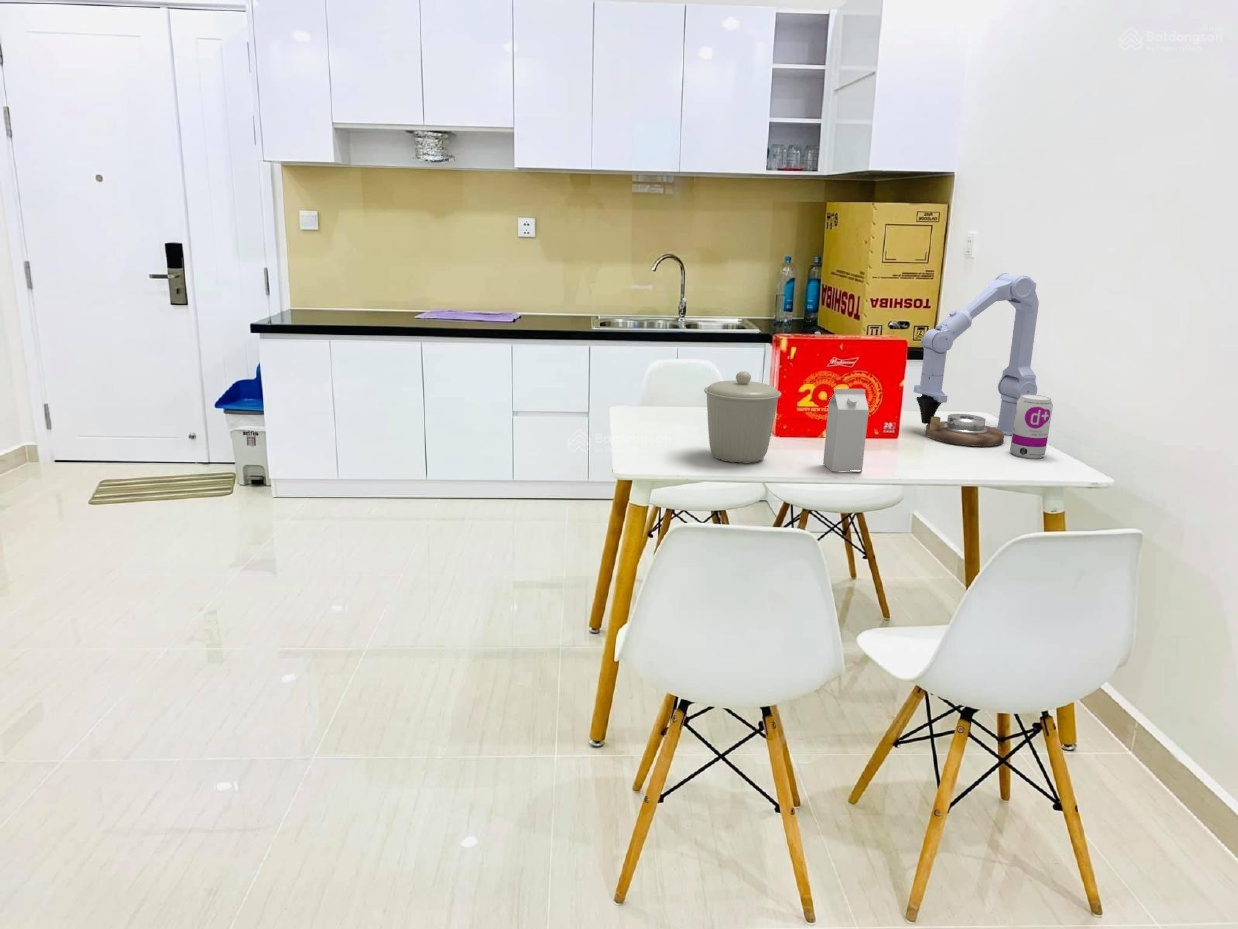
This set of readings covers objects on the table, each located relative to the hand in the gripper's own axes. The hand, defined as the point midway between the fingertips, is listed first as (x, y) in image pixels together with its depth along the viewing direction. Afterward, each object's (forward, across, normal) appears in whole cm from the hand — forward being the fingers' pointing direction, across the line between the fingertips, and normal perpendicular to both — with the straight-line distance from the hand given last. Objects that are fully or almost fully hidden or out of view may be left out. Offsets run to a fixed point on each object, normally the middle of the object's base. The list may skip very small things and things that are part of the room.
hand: (926, 423), depth 250 cm
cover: (+1, +5, +8) cm, 10 cm away
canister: (+3, +22, -60) cm, 64 cm away
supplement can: (+3, +23, +16) cm, 28 cm away
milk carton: (+3, +32, -38) cm, 50 cm away
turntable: (+3, +5, +8) cm, 10 cm away
